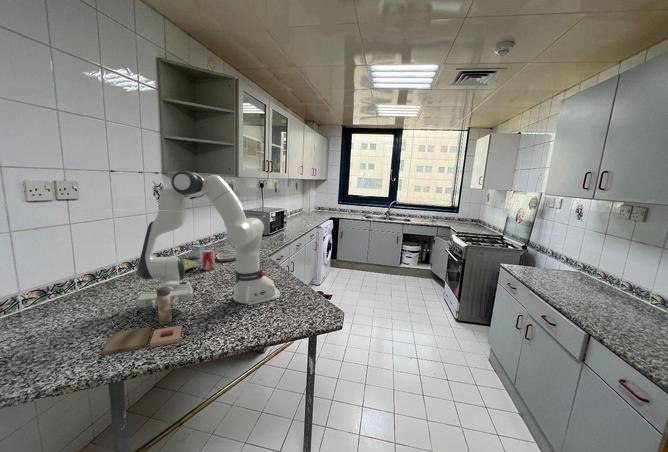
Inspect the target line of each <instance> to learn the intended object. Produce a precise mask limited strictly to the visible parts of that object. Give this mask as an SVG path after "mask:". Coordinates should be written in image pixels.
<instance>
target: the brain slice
mask: <svg viewBox="0 0 668 452" xmlns="http://www.w3.org/2000/svg"><path fill="white" fill-rule="evenodd" d="M236 252H237V251H231V250H225V251H220V252H219V253H218V254H216V255H215V259H217V261H218V262H219V263H223V262H226V263H227V262H232V261H234V260H235V261H236V258H235V255H236Z"/></svg>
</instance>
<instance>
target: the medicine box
mask: <svg viewBox="0 0 668 452" xmlns="http://www.w3.org/2000/svg"><path fill="white" fill-rule="evenodd" d="M204 250H205V246H204V245H199V244H194V245H191V258H193V259H197V260H202V253H203V251H204Z"/></svg>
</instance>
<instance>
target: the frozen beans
mask: <svg viewBox="0 0 668 452" xmlns="http://www.w3.org/2000/svg"><path fill="white" fill-rule="evenodd" d="M182 259H183V258H182ZM183 261H184V262H185V271H187V270H189V269H192V268H194V267H197V266H199V265H200V266H201V265H203V263H202V262H199V261H196V260H192V259H191V260H190V259H185V258H184V259H183Z"/></svg>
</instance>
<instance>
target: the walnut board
mask: <svg viewBox="0 0 668 452" xmlns="http://www.w3.org/2000/svg"><path fill="white" fill-rule="evenodd" d="M152 330H153V327H152V326H149V327H143V328H142V327H141V328H135V329H130V330H122V331H117V332H112V334H111V336H110V338H109V339H108V341H107V343H106V345H105V346H104V347H103V350H101V355H102V356H106V355H111V354H116V353H122V352H128V351H133V350H139V349H144V348H146V346H147V344H148V342H149V339H150V336H151V333H152Z"/></svg>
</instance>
